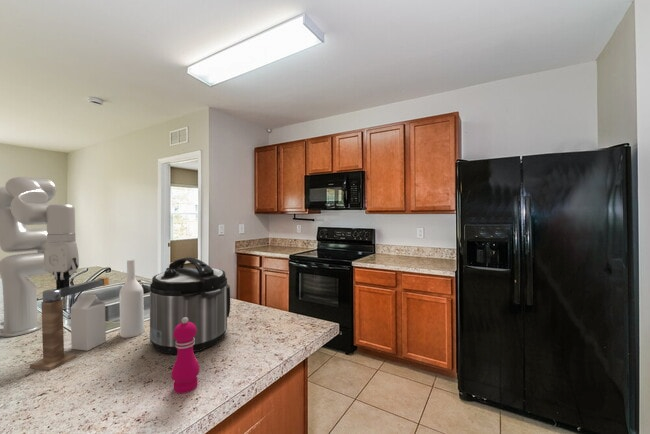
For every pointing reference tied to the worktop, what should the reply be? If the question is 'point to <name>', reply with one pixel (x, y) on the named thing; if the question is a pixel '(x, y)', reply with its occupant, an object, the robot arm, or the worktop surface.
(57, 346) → the gate post
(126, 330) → the bottle
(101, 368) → the worktop surface
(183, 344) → the pepper mill
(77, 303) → the milk carton
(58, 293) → the arm
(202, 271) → the pressure cooker
